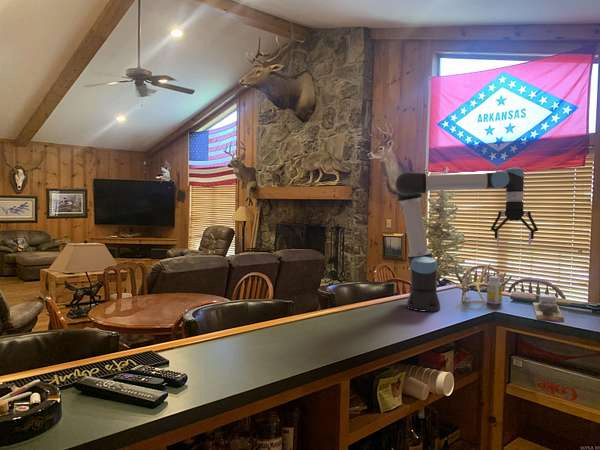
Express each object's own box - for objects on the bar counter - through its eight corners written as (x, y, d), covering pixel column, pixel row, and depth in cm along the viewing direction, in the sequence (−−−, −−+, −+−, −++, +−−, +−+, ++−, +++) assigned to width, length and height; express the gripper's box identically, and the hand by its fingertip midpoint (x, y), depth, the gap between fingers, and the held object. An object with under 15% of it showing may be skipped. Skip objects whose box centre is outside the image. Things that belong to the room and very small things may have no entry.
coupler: (540, 310, 199) (540, 297, 198) (539, 306, 207) (539, 293, 206) (556, 312, 196) (556, 298, 196) (554, 307, 204) (554, 294, 204)
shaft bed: (536, 318, 192) (536, 305, 191) (532, 305, 215) (533, 293, 215) (563, 321, 188) (563, 307, 187) (556, 307, 211) (557, 295, 211)
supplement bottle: (498, 301, 224) (499, 275, 224) (503, 304, 218) (504, 278, 217) (485, 301, 225) (485, 275, 224) (489, 304, 219) (489, 277, 218)
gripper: (485, 201, 214) (484, 245, 216) (545, 200, 204) (544, 247, 205) (486, 201, 221) (485, 244, 222) (543, 200, 211) (542, 245, 212)
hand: (513, 245), depth 214 cm, fingers open, 13 cm apart
